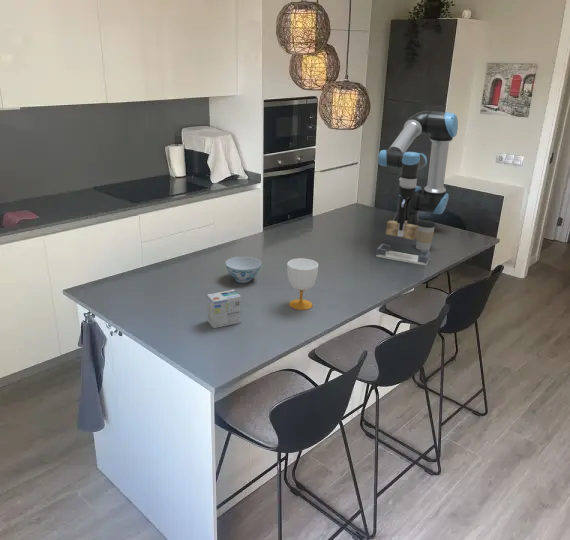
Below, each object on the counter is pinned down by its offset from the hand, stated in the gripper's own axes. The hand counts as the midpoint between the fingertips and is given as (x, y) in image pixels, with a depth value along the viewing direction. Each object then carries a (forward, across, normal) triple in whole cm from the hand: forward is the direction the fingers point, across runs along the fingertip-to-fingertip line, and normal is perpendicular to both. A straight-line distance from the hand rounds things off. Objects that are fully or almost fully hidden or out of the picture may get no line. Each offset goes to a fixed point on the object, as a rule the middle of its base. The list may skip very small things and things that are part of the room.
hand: (401, 234), depth 256 cm
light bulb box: (+12, +97, -41) cm, 106 cm away
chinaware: (+12, +60, -53) cm, 81 cm away
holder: (+12, 0, +2) cm, 12 cm away
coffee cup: (+12, -19, +8) cm, 24 cm away
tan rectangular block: (+1, 0, 0) cm, 1 cm away
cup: (+12, +71, -22) cm, 75 cm away
